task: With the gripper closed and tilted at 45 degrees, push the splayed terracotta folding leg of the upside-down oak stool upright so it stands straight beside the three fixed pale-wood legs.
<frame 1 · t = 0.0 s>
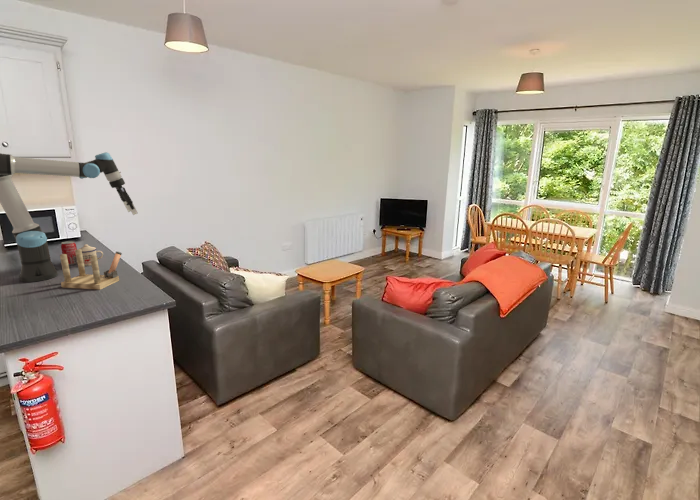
hand: (133, 212, 226), 28 cm above the table, tool tilted 20°, fingers open, 13 cm apart
folding leg: (114, 264, 190), point 8 cm above the table, hinge at 40.0°
teacup with lid: (92, 264, 217), on the table
soda can: (71, 264, 216), on the table
stool: (91, 283, 185), on the table
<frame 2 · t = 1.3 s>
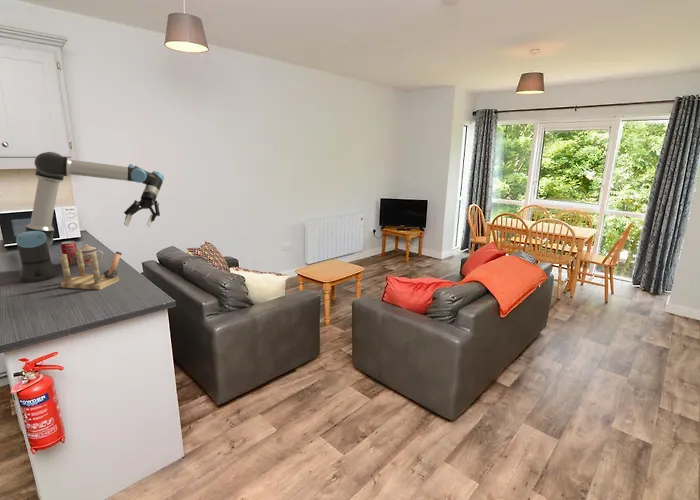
hand: (137, 225, 207), 24 cm above the table, tool tilted 45°, fingers open, 13 cm apart
nothing on the table moved.
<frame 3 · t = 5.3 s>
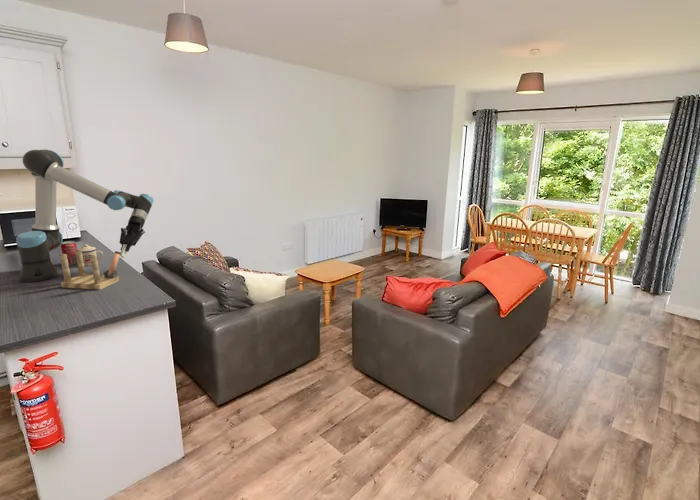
hand: (121, 256, 194), 11 cm above the table, tool tilted 45°, fingers closed
folding leg: (114, 264, 190), point 8 cm above the table, hinge at 36.5°, touching gripper
everything else where it was.
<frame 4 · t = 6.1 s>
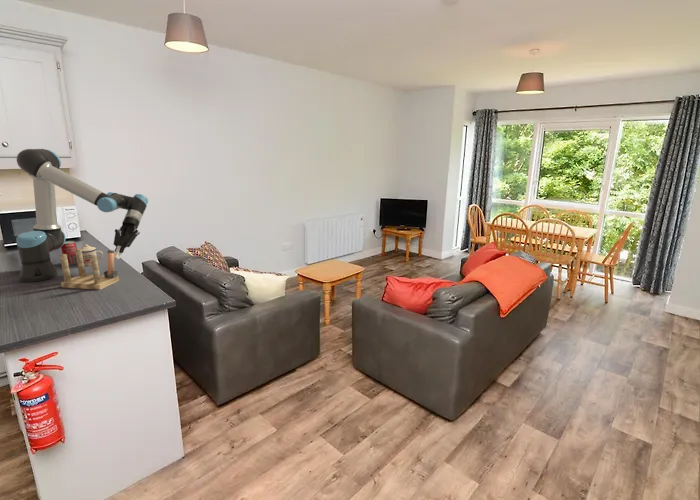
hand: (116, 258, 190), 11 cm above the table, tool tilted 45°, fingers closed
folding leg: (110, 263, 187), point 9 cm above the table, hinge at 11.9°, touching gripper
everything else where it was.
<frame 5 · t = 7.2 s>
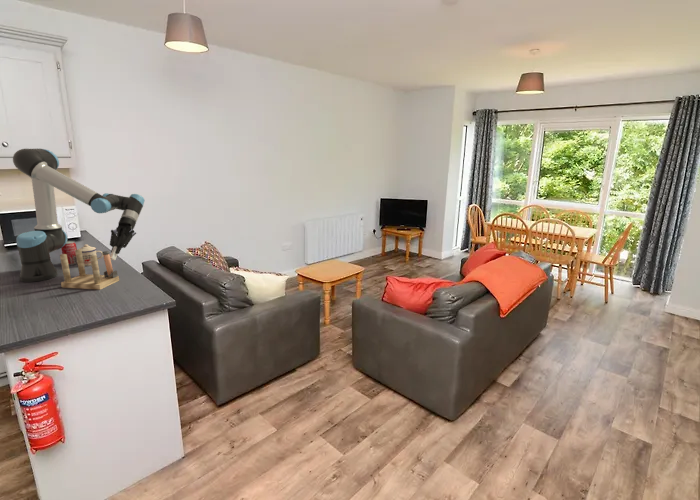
hand: (112, 258, 187), 12 cm above the table, tool tilted 45°, fingers closed
folding leg: (108, 264, 186), point 9 cm above the table, hinge at -5.3°, touching gripper
everything else where it was.
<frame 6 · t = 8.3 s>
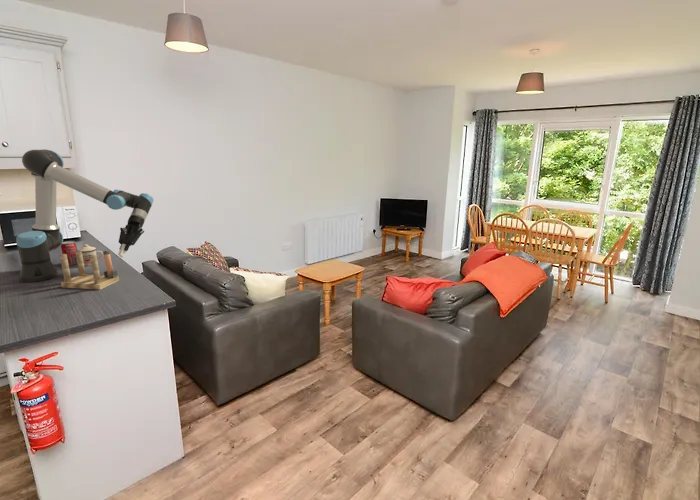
hand: (120, 255, 194), 11 cm above the table, tool tilted 45°, fingers closed
folding leg: (108, 264, 186), point 9 cm above the table, hinge at -2.8°
everything else where it was.
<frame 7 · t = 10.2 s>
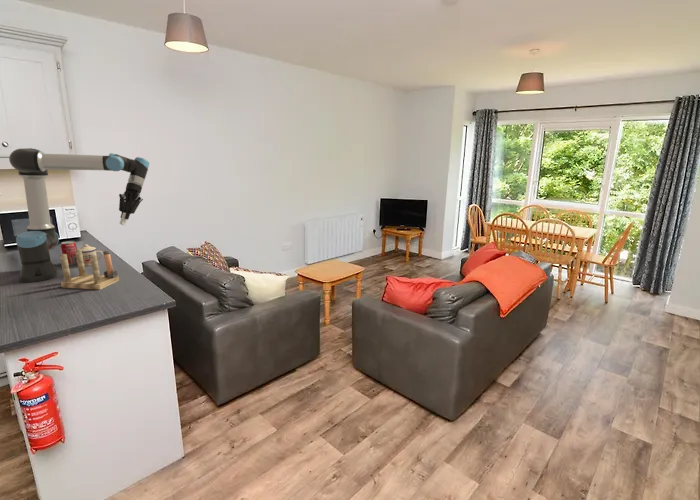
hand: (122, 224, 203), 25 cm above the table, tool tilted 30°, fingers closed
nothing on the table moved.
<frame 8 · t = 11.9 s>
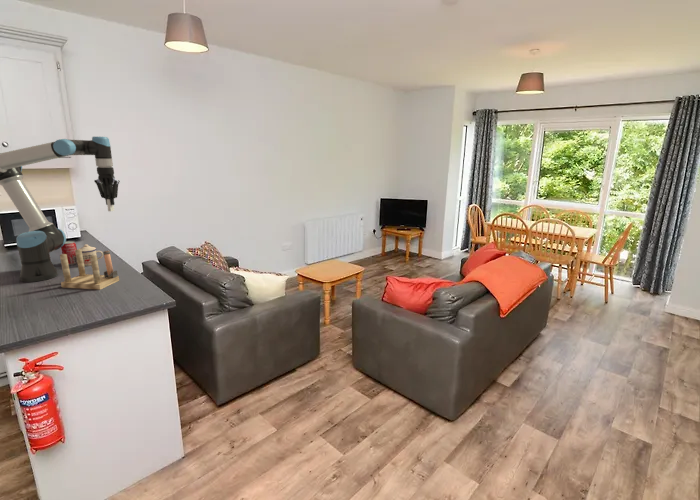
hand: (111, 210, 203), 32 cm above the table, tool pointing down, fingers closed
nothing on the table moved.
at the end: folding leg at -3° (first picture: +40°); teacup with lid moved 0.2 cm from its start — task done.
